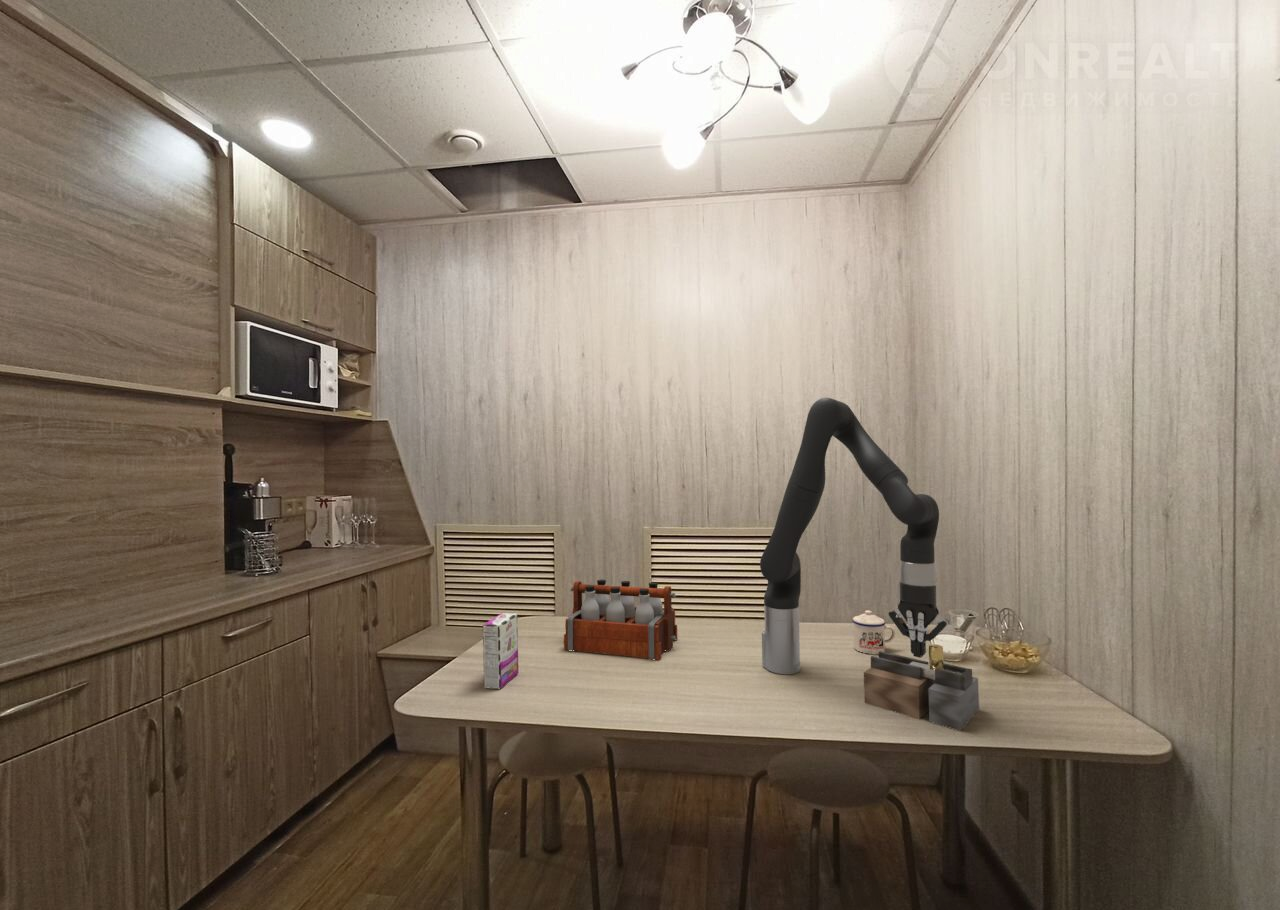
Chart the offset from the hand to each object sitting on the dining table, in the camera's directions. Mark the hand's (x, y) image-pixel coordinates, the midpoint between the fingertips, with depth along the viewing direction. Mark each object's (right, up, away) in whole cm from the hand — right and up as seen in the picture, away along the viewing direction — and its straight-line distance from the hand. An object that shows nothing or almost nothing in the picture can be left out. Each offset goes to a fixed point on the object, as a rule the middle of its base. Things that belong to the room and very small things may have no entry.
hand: (918, 656), depth 124 cm
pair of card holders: (+1, -11, -1) cm, 11 cm away
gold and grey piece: (+2, -4, -2) cm, 5 cm away
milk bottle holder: (-70, -14, +46) cm, 85 cm away
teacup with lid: (+6, -12, +38) cm, 40 cm away
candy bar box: (-101, -13, +18) cm, 103 cm away
